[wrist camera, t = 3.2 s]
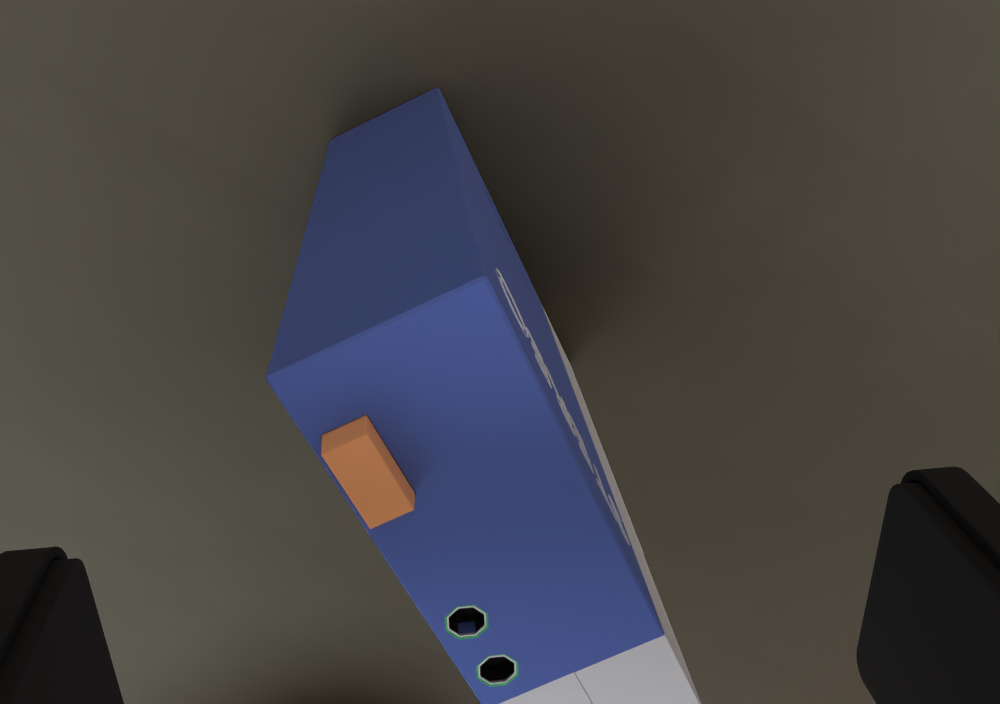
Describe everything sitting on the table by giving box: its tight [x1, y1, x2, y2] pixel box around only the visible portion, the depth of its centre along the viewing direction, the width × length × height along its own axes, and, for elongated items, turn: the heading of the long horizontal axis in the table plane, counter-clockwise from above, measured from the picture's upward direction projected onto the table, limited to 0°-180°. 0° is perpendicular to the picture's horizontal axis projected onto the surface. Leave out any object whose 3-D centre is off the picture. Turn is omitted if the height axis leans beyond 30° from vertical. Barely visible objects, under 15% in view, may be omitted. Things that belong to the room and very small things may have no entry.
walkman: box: [265, 88, 701, 704], centre depth 17 cm, size 8×3×12 cm, turn 24°
